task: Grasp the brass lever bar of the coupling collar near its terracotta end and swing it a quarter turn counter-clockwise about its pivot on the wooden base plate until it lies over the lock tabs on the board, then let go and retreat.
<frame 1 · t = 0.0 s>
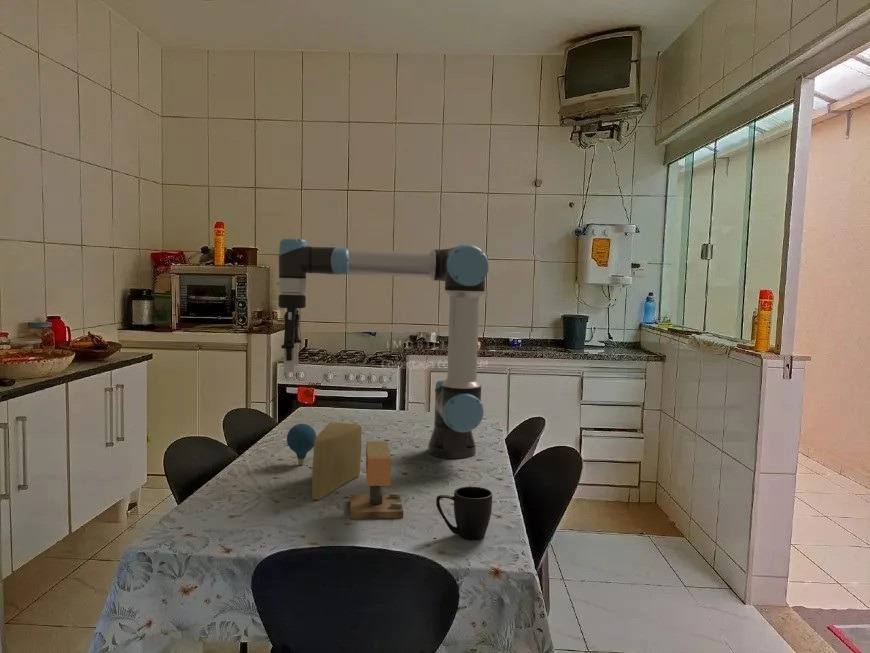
hand: (291, 368, 187), 28 cm above the table, fingers open, 13 cm apart
collar: (377, 468, 150), point 11 cm above the table, hinge at 0.0°
cheese: (330, 487, 171), on the table
wooden base plate: (375, 508, 155), on the table
light bulb: (301, 465, 189), on the table
mug: (462, 536, 141), on the table
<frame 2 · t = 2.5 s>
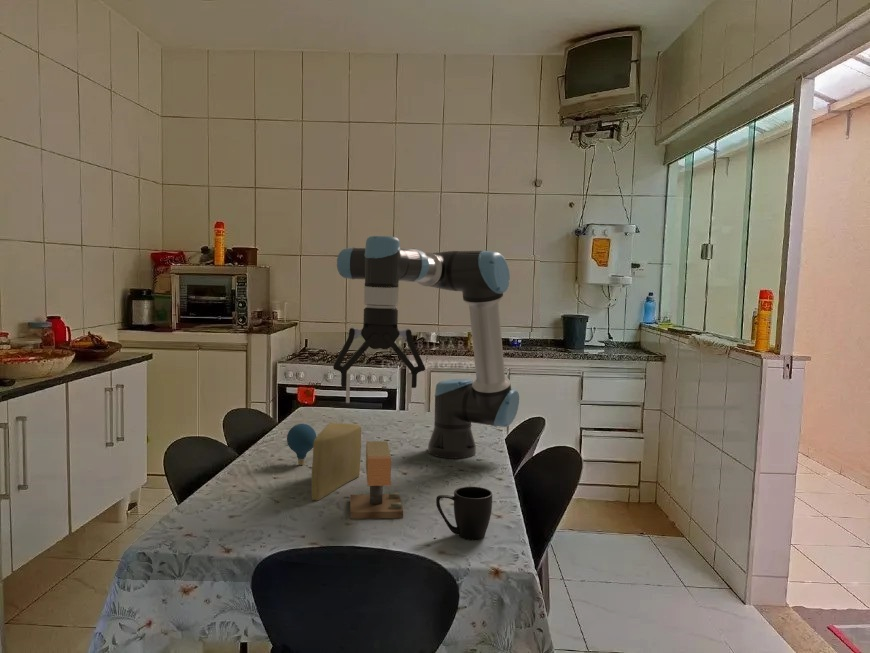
hand: (378, 402, 146), 27 cm above the table, fingers open, 13 cm apart
nothing on the table moved.
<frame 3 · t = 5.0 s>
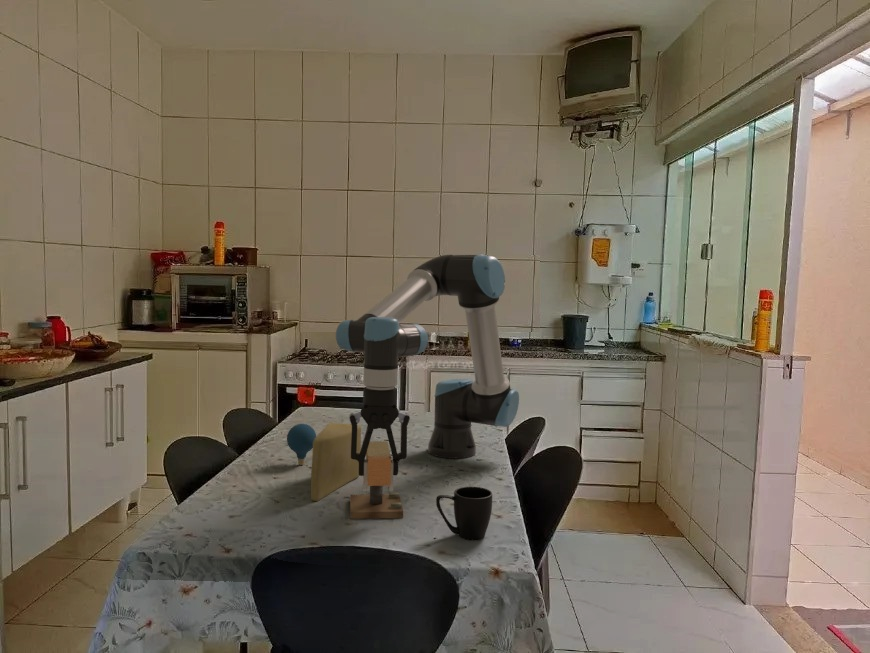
hand: (377, 489, 147), 7 cm above the table, fingers closed on collar, 5 cm apart
collar: (377, 468, 150), point 11 cm above the table, hinge at 0.0°, touching gripper
everything else where it was.
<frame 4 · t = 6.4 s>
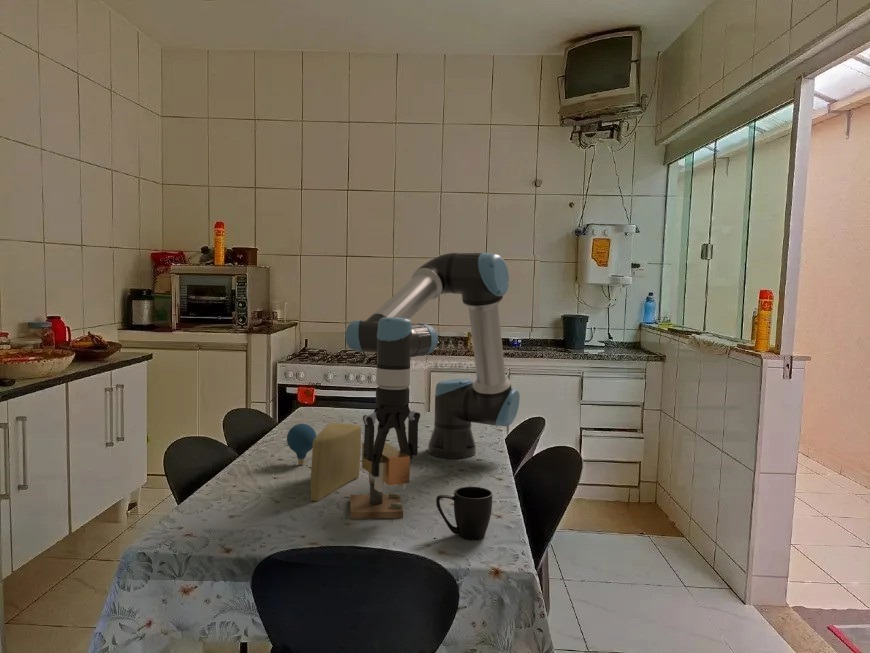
hand: (390, 488, 148), 7 cm above the table, fingers closed on collar, 5 cm apart
collar: (384, 468, 151), point 11 cm above the table, hinge at 21.8°, touching gripper
everything else where it was.
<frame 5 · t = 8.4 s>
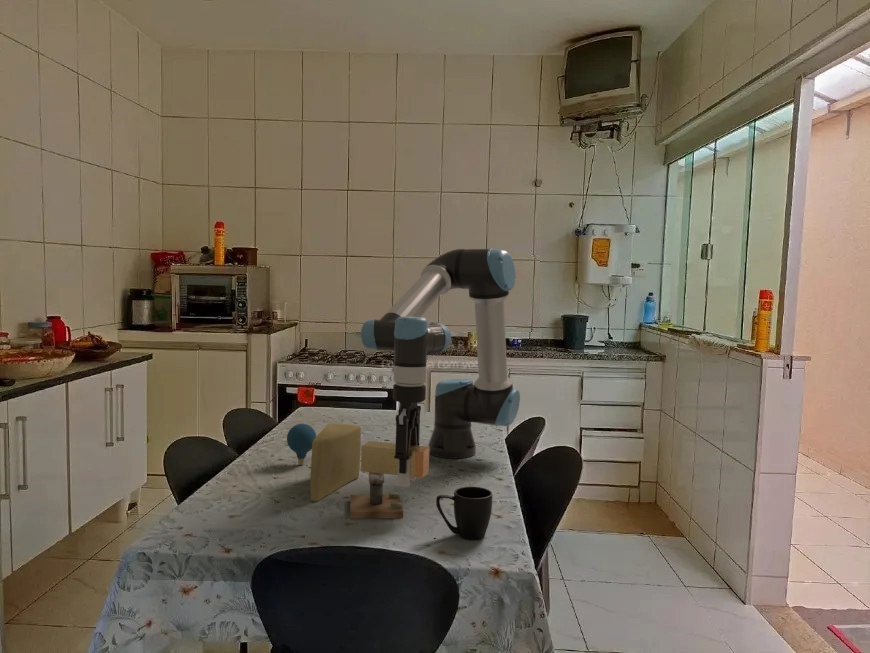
hand: (406, 482, 153), 7 cm above the table, fingers closed on collar, 5 cm apart
collar: (395, 465, 153), point 11 cm above the table, hinge at 68.1°, touching gripper
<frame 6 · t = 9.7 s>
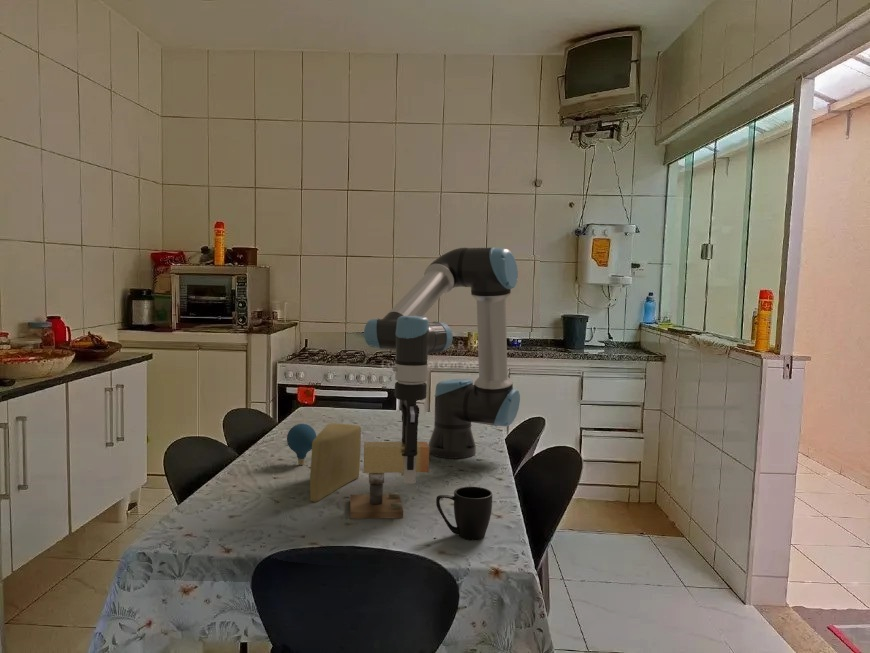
hand: (408, 478, 156), 7 cm above the table, fingers closed on collar, 5 cm apart
collar: (396, 463, 155), point 11 cm above the table, hinge at 89.9°, touching gripper
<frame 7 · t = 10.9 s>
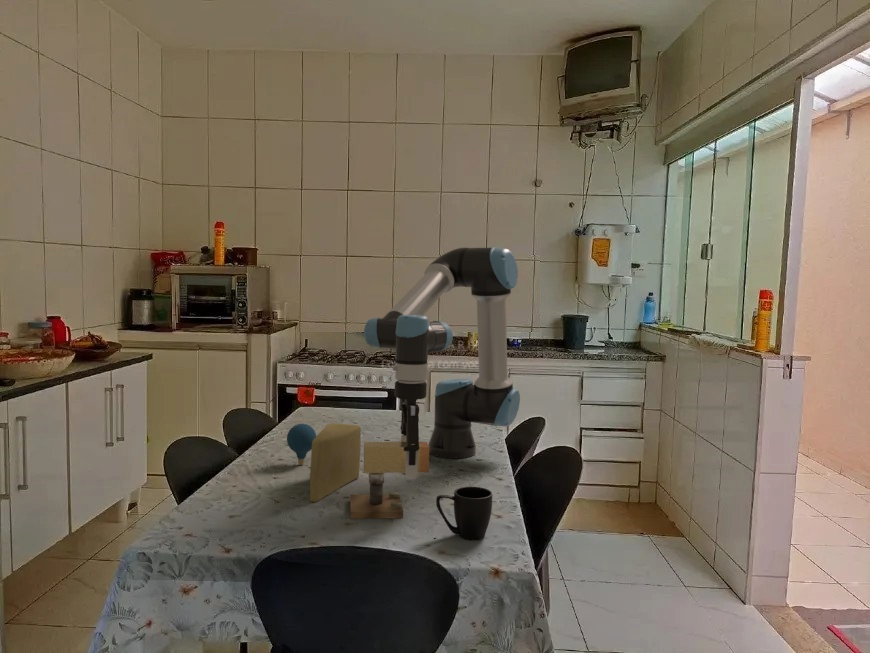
hand: (408, 469, 156), 9 cm above the table, fingers open, 13 cm apart
collar: (395, 463, 155), point 11 cm above the table, hinge at 90.1°
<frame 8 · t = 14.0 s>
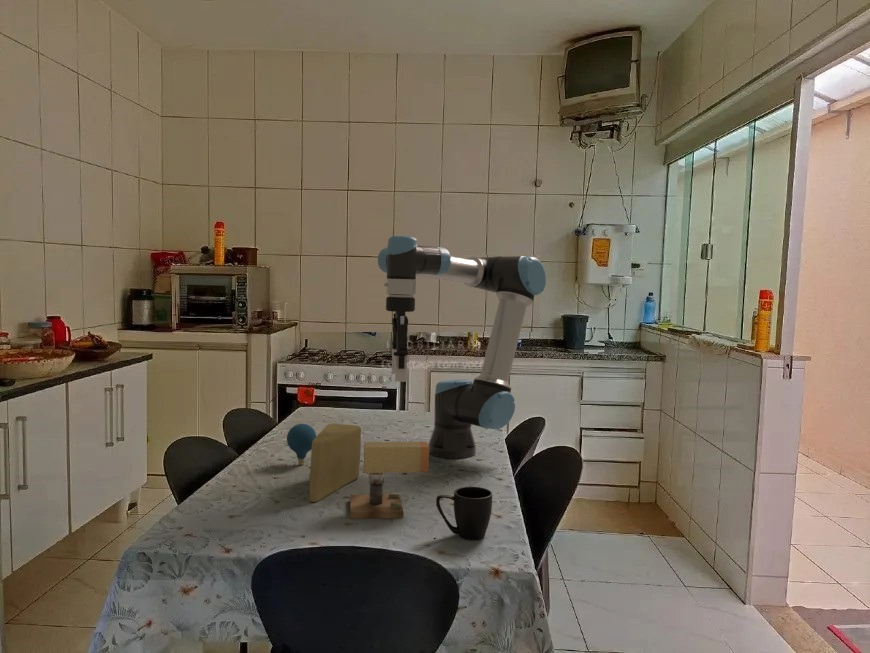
hand: (398, 377, 172), 29 cm above the table, fingers open, 13 cm apart
at the end: collar at +90° (first picture: +0°); the gripper is holding nothing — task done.
